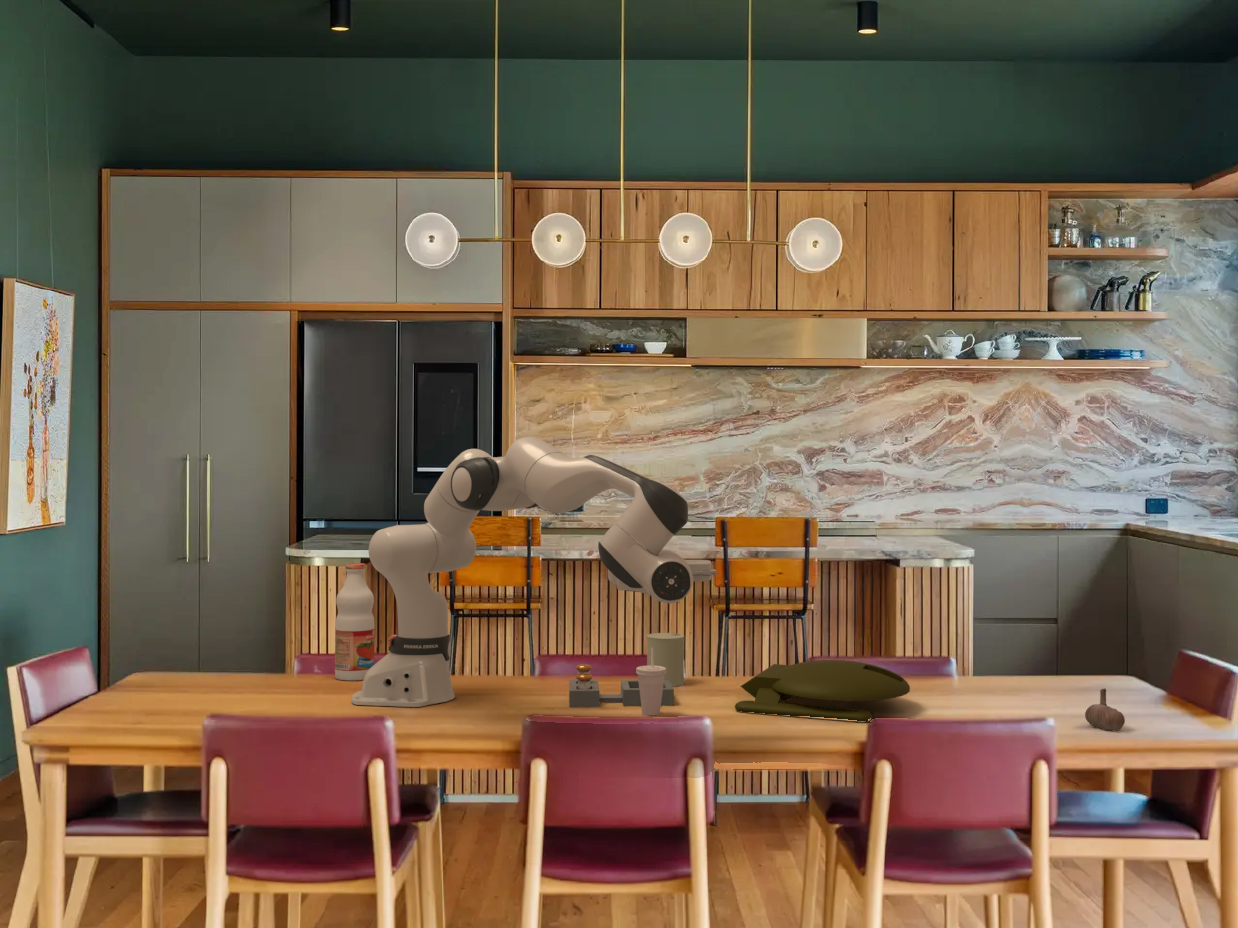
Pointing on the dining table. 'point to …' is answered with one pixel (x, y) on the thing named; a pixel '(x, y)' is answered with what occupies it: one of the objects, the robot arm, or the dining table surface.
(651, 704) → the smoothie
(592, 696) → the grey double well tray
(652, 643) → the can
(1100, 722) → the garlic bulb
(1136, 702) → the dining table surface
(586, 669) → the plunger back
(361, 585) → the fruit juice
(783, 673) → the spaceship
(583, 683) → the plunger front
